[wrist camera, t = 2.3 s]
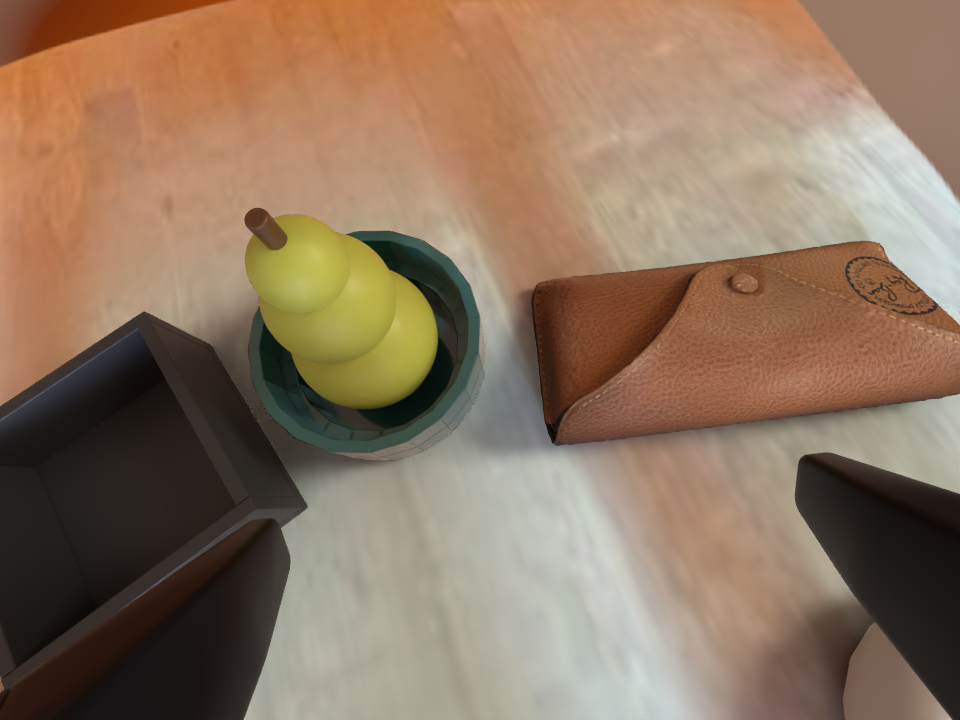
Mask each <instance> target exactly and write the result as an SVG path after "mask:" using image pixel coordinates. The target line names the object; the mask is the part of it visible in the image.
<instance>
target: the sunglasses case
mask: <svg viewBox="0 0 960 720" xmlns="http://www.w3.org/2000/svg"><path fill="white" fill-rule="evenodd" d="M532 310H533V321H534V331H535V339H536V346H537V355H538V364H539V375H540V387H541V395H542V403H543V412H544V421H545V424H546V426H547V430H548V434H549V436H550V438H551V441H552V443H553V444H554V445H556V446H560V445H565V444H568V445H572V444H576V443H588V442H599V441H605V440H614V439H625V438H629V437H638V436H645V435H652V434H661V433H669V432H678V431H685V430H693V429H701V428H709V427H715V426H724V425H730V424H739V423H746V422H754V421H762V420H768V419H778V418H785V417H793V416H801V415H810V414H818V413H826V412H833V411H842V410H848V409H857V408H866V407H877V406H881V405H891V404H900V403H905V402H916V401H925V400H927V399H940V398H943V397H945V396H951V395H958V394H960V325H959V324H958V323H957V322H956V321H955V320H954V319H953V318H952V317H951V316H949V315H948V314H947V313H946V312H945V311H944V310H943V309H942V308H941V307H940V306H939V305H938V304H937V303H936V302H935V301H933V300H932V299H931V298H930V297H929V296H928V295H926V293H925V292H924V291H923V290H922V289H920V288H919V287H918V286H917V285H916V284H915V283H914V282H913V281H911V280H910V279H909V278H908V277H907V276H906V275H905V274H904V273H903V272H902V271H901V270H899V269H898V268H897V267H896V266H895V265H893V263H892V262H890V261H889V260H888V258H887V256H886V254H885V251H884V248H883V247H882V246H881V245H880V243H876V242H871V241H859V242H847V243H841V244H834V245H826V246H821V247H813V248H807V249H801V250H796V251H787V252H781V253H774V254H767V255H760V256H753V257H746V258H738V259H730V260H723V261H716V262H706V263H697V264H690V265H682V266H675V267H666V268H657V269H648V270H638V271H629V272H620V273H607V274H601V275H586V276H573V277H569V278H559V279H552V280H548V281H544V282H540V283H538V284H537V285H536V288H535V290H534V293H533V296H532Z"/></svg>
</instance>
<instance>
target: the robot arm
mask: <svg viewBox="0 0 960 720" xmlns="http://www.w3.org/2000/svg"><path fill="white" fill-rule="evenodd" d="M795 502H796V506H797V508H798V510H799V512H800V514H801V515H802V517H803V518H804V520H805V521H806V523H807V525H808V526H809V528H810V529H811V531H812V532H813V534H814V535H815V537H816V538H817V540H818V541H819V543H820V544H821V546H822V548H823V549H824V551H825V552H826V554H827V555H828V557H829V558H830V560H831V561H832V563H833V564H834V566H835V568H836V569H837V571H838V572H839V574H840V575H841V577H842V578H843V580H844V581H845V583H846V584H847V586H848V587H849V588H850V590H851V591H852V593H853V594H854V596H855V597H856V598H857V600H858V601H859V602H860V604H861V605H862V606H863V608H864V609H865V610H866V612H867V613H868V614H869V615H870V617H871V618H872V619H873V620H874V622H875V623H876V624H877V625H878V627H879V628H880V629H881V631H882V632H883V633H884V634H885V636H886V637H887V638H888V639H889V641H890V642H891V643H892V644H893V646H894V647H895V648H896V649H897V651H898V652H899V653H900V655H901V656H902V657H903V658H904V660H905V661H906V662H907V663H908V665H909V666H910V667H911V668H912V670H913V671H914V672H915V674H916V675H917V676H918V677H919V679H920V680H921V681H922V682H923V684H924V685H925V686H926V687H927V689H928V690H929V691H930V693H931V694H932V695H933V696H934V698H935V699H936V700H937V701H938V703H939V704H940V705H941V706H942V708H943V709H944V710H945V712H946V713H947V714H948V715H949V717H950V718H951V719H952V720H960V494H958V493H955V492H952V491H949V490H946V489H942V488H939V487H936V486H933V485H930V484H927V483H924V482H921V481H917V480H914V479H911V478H908V477H905V476H902V475H899V474H895V473H892V472H889V471H886V470H883V469H880V468H877V467H874V466H870V465H867V464H864V463H861V462H858V461H855V460H852V459H848V458H845V457H842V456H839V455H836V454H833V453H817V454H809V455H804V456H803V457H802V458H801V459H800V460H799V464H798V471H797V480H796V489H795ZM289 570H290V555H289V551H288V548H287V545H286V542H285V540H284V537H283V534H282V531H281V528H280V525H279V523H278V522H277V520H275V519H273V518H267V519H259V520H252V521H249V522H248V523H246V524H245V525H243V526H242V527H240V528H239V529H238V530H236V531H235V532H233V533H232V534H230V535H229V536H227V537H226V538H224V539H223V540H222V541H220V542H219V543H217V544H216V545H214V546H213V547H211V548H210V549H208V550H207V551H206V552H204V553H203V554H201V555H200V556H198V557H197V558H195V559H194V560H192V561H191V562H190V563H188V564H187V565H185V566H184V567H182V568H181V569H179V570H178V571H176V572H175V573H174V574H172V575H171V576H169V577H168V578H166V579H165V580H163V581H162V582H160V583H159V584H158V585H156V586H155V587H153V588H152V589H150V590H149V591H147V592H146V593H145V594H143V595H142V596H140V597H139V598H137V599H136V600H134V601H133V602H131V603H130V604H129V605H127V606H126V607H124V608H123V609H121V610H120V611H118V612H117V613H115V614H114V615H113V616H111V617H110V618H108V619H107V620H105V621H104V622H102V623H101V624H99V625H98V626H97V627H95V628H94V629H92V630H91V631H89V632H88V633H86V634H85V635H83V636H82V637H81V638H79V639H78V640H76V641H75V642H73V643H72V644H70V645H69V646H67V647H66V648H65V649H63V650H62V651H60V652H59V653H57V654H56V655H54V656H53V657H51V658H50V659H49V660H47V661H46V662H44V663H43V664H41V665H40V666H38V667H37V668H35V669H34V670H33V671H31V672H30V673H28V674H27V675H25V676H24V677H22V678H21V679H19V680H18V681H17V682H15V683H14V684H13V686H12V688H7V689H5V690H3V691H2V692H0V720H244V717H245V714H246V712H247V709H248V706H249V703H250V701H251V698H252V695H253V693H254V690H255V687H256V684H257V682H258V679H259V676H260V674H261V671H262V668H263V665H264V662H265V659H266V656H267V653H268V649H269V646H270V642H271V638H272V635H273V631H274V627H275V623H276V619H277V616H278V612H279V608H280V604H281V600H282V597H283V593H284V589H285V585H286V581H287V578H288V574H289Z"/></svg>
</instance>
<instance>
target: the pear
mask: <svg viewBox="0 0 960 720" xmlns="http://www.w3.org/2000/svg"><path fill="white" fill-rule="evenodd" d="M245 225H246V226H247V228H248V229H249V230H250V231H251V232H252V233H253V236H252V237H251V239H250V241H249V243H248V246H247V250H246V255H245V266H246V272H247V275H248V278H249V280H250V283H251V284H252V286H253V288H254V289H255V291H256V292H257V293H258V295H259V306H260V311H261V314H262V317H263V319H264V322H265V324H266V326H267V328H268V330H269V331H270V333H271V334H272V335H273V337H274V338H275V339H276V340H277V341H278V342H279V343H280V344H281V345H282V346H283V347H284V348H285V349H287V350H288V351H290V352H291V354H292V357H293V360H294V363H295V365H296V368H297V370H298V371H299V373H300V375H301V376H302V378H303V379H304V380H305V381H306V383H307V384H308V385H309V386H310V387H311V388H312V389H313V390H314V391H315V392H316V393H318V394H319V395H321V396H322V397H323V398H325V399H326V400H328V401H330V402H332V403H335V404H337V405H340V406H343V407H347V408H352V409H362V410H366V409H377V408H382V407H386V406H389V405H392V404H394V403H396V402H398V401H401V400H402V399H404V398H406V397H408V396H409V395H411V394H412V393H413V392H415V391H416V390H417V389H418V388H419V387H420V385H421V384H422V383H423V381H424V380H425V378H426V377H427V375H428V373H429V371H430V370H431V368H432V365H433V363H434V360H435V356H436V352H437V345H438V330H437V324H436V320H435V317H434V313H433V311H432V309H431V307H430V305H429V303H428V301H427V300H426V298H425V297H424V295H423V294H422V292H421V291H420V290H419V289H418V288H417V287H416V286H415V285H414V284H413V283H411V282H410V281H409V280H408V279H406V278H405V277H403V276H401V275H400V274H398V273H396V272H393V271H391V270H389V269H388V267H387V266H386V264H385V263H384V261H383V260H382V259H381V257H380V256H379V255H378V254H377V253H376V252H375V251H374V250H373V249H371V248H370V247H369V246H368V245H366V244H365V243H363V242H361V241H360V240H358V239H356V238H353V237H351V236H348V235H345V234H341V233H336V232H334V231H333V230H332V229H331V228H330V227H328V226H327V225H326V224H324V223H323V222H321V221H319V220H317V219H314V218H312V217H308V216H304V215H283V216H279V217H276V218H274V219H273V218H272V217H271V216H270V215H269V213H268V212H267V211H266V210H264V209H261V208H254V209H252V210H250V211H249V212H248V213H247V214H246V216H245Z"/></svg>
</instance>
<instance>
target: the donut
mask: <svg viewBox="0 0 960 720" xmlns="http://www.w3.org/2000/svg"><path fill="white" fill-rule="evenodd" d="M843 707H844V716H845V720H952V719H951V718H950V717H949V715H948V714H947V713H946V712H945V710H944V709H943V708H942V706H941V705H940V704H939V703H938V701H937V700H936V699H935V698H934V696H933V695H932V694H931V693H930V691H929V690H928V689H927V687H926V686H925V685H924V684H923V682H922V681H921V680H920V679H919V677H918V676H917V675H916V674H915V672H914V671H913V670H912V668H911V667H910V666H909V665H908V663H907V662H906V661H905V660H904V658H903V657H902V656H901V655H900V653H899V652H898V651H897V649H896V648H895V647H894V646H893V644H892V643H891V642H890V641H889V639H888V638H887V637H886V636H885V634H884V633H883V632H882V631H881V629H880V628H879V627H878V625H877V624H876V623H873V624H872V625H871V626H869V628H868V629H867V631H866V633H865V634H864V636H863V638H862V639H861V641H860V643H859V644H858V646H857V648H856V650H855V651H854V653H853V655H852V656H851V658H850V661H849V667H848V672H847V678H846V683H845V689H844V694H843Z"/></svg>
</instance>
